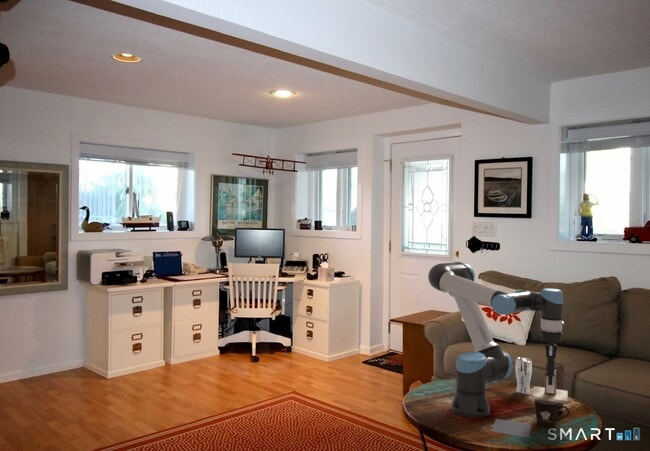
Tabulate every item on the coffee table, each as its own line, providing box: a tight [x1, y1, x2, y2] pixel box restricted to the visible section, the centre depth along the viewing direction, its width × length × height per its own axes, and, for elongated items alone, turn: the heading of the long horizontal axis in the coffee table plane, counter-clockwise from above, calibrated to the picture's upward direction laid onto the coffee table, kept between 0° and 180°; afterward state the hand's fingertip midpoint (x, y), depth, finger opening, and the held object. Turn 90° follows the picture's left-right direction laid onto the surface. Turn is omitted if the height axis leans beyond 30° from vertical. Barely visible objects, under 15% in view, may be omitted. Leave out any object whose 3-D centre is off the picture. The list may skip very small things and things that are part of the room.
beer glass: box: [515, 357, 533, 395], centre depth 240 cm, size 7×7×15 cm
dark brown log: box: [544, 361, 565, 412], centre depth 218 cm, size 8×7×20 cm
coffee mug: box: [533, 399, 570, 429], centre depth 201 cm, size 12×9×10 cm
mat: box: [491, 418, 532, 439], centre depth 199 cm, size 13×13×1 cm
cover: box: [531, 371, 569, 404], centre depth 201 cm, size 12×12×9 cm
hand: (550, 390), depth 201 cm, fingers closed on cover, 4 cm apart
